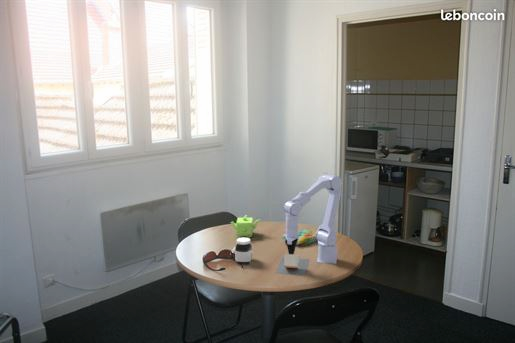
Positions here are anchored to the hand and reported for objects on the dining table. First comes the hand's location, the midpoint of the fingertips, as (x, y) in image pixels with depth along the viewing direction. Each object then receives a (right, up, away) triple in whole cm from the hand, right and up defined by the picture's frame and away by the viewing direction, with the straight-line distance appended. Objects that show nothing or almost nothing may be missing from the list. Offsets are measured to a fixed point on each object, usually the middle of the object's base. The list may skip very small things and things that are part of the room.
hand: (291, 253), depth 211 cm
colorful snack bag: (+9, -1, +40) cm, 41 cm away
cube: (0, -1, +1) cm, 1 cm away
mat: (+1, -7, +5) cm, 9 cm away
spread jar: (-25, -6, +14) cm, 29 cm away
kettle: (-23, +1, +52) cm, 57 cm away
